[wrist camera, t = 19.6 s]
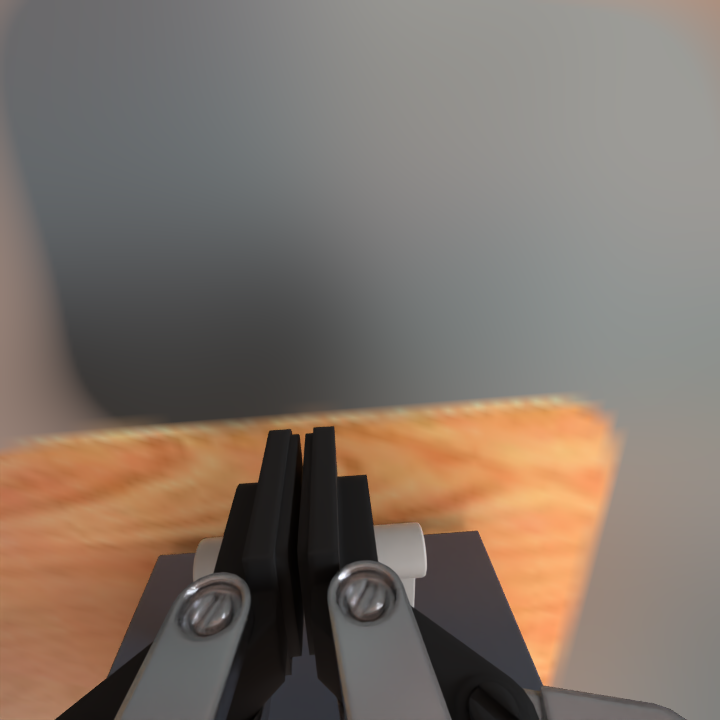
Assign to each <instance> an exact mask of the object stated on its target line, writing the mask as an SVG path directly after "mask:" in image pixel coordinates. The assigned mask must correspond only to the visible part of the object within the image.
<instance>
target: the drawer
mask: <svg viewBox="0 0 720 720" xmlns="http://www.w3.org/2000/svg"><path fill="white" fill-rule="evenodd" d="M373 526H374V533H375V541H376V548H377V555H378V562H380V563H382V564H384V565H386V566H388V567H390V568H391V569H392V570H393V571H394V572H395V573H396V574H398V576H399V578H400V580H401V581H402V583H403V585H404V588H405V591H406V594H407V596H408V599H409V602H410V605H411V606H412V607H414V608H415V609H417V610H418V611H419V612H421V613H422V614H424V615H425V616H426V617H428V618H429V619H430V620H432V621H433V622H435V623H436V624H437V625H439V626H440V627H442V628H443V629H444V630H446V631H447V632H448V633H450V634H451V635H453V636H454V637H455V638H457V639H458V640H460V641H461V642H462V643H464V644H465V645H466V646H468V647H469V648H471V649H472V650H473V651H475V652H476V653H478V654H479V655H480V656H482V657H483V658H484V659H486V660H487V661H489V662H490V663H491V664H493V665H494V666H496V667H497V668H498V669H500V670H501V671H502V672H504V673H505V674H507V675H508V676H509V677H511V678H512V679H513V680H514V681H515V682H516V683H517V684H518V685H520V686H521V687H522V688H524V689H530V690H536V691H540V687H541V685H542V686H543V684H542V682H541V680H540V677H539V675H538V673H537V670H536V668H535V665H534V663H533V661H532V658H531V656H530V654H529V651H528V649H527V646H526V644H525V642H524V639H523V637H522V635H521V632H520V630H519V627H518V625H517V623H516V620H515V618H514V616H513V613H512V611H511V608H510V606H509V604H508V601H507V599H506V597H505V594H504V592H503V589H502V587H501V585H500V582H499V580H498V578H497V575H496V573H495V570H494V568H493V566H492V563H491V561H490V559H489V556H488V554H487V551H486V549H485V547H484V544H483V542H482V540H481V537H480V535H479V532H478V531H467V532H454V533H441V534H428V535H423V532H422V528H421V526H420V524H419V523H417V522H410V523H397V524H384V525H373ZM222 539H223V537H212V538H204V539H202V540H201V541H200V542H199V544H198V547H197V550H196V553H183V554H170V555H160V556H159V557H158V559H157V562H156V564H155V566H154V569H153V571H152V573H151V576H150V578H149V580H148V583H147V585H146V587H145V590H144V592H143V594H142V597H141V599H140V601H139V604H138V606H137V608H136V611H135V613H134V615H133V618H132V620H131V622H130V625H129V627H128V629H127V632H126V634H125V636H124V639H123V641H122V643H121V646H120V648H119V650H118V653H117V655H116V657H115V660H114V662H113V664H112V667H111V669H110V672H109V674H108V676H107V678H108V677H109V676H110V675H111V674H113V673H114V672H115V671H117V670H118V669H119V668H120V667H122V666H123V665H124V664H125V663H127V662H128V661H129V660H130V659H132V658H133V657H134V656H135V655H137V654H138V653H139V652H140V651H142V650H143V649H144V648H145V647H147V646H148V645H149V644H150V643H152V642H153V641H154V640H155V638H156V636H157V634H158V632H159V630H160V628H161V626H162V624H163V622H164V620H165V618H166V616H167V614H168V612H169V610H170V608H171V606H172V604H173V603H174V601H175V600H176V598H177V597H178V595H179V594H180V593H181V592H182V591H183V590H184V589H185V588H186V587H187V586H188V585H189V584H191V583H192V582H194V581H196V580H197V579H199V578H201V577H203V576H206V575H209V574H212V573H213V572H214V568H215V565H216V561H217V558H218V554H219V550H220V547H221V543H222ZM268 720H339V714H338V708H337V700H336V696H335V695H334V694H333V693H332V692H331V691H330V690H329V689H328V688H327V687H326V686H325V685H324V684H323V683H322V682H321V681H320V680H319V679H318V678H317V669H316V661H315V655H309V648H308V640H307V632H306V624H305V616H304V625H303V646H302V656H298V657H293V661H292V675H286V676H285V682H284V683H283V684H282V685H281V686H280V687H279V688H278V690H277V691H276V692H275V693H274V694H273V695H272V696H271V705H270V712H269V717H268Z"/></svg>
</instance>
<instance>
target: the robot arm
mask: <svg viewBox="0 0 720 720" xmlns="http://www.w3.org/2000/svg"><path fill="white" fill-rule="evenodd" d="M304 616H305V624H306V632H307V640H308V648H309V655H315V661H316V669H317V678H318V679H319V680H320V681H321V682H322V683H323V684H324V685H325V686H326V687H327V688H328V689H329V690H330V691H331V692H332V693H333V694H334V695H335V696H336V700H337V708H338V714H339V720H686V719H685V718H683V717H682V716H680V715H678V714H677V713H675V712H674V711H673V710H671V709H669V708H666V707H663V706H660V705H657V704H654V703H648V702H642V701H635V700H629V699H623V698H616V697H611V696H604V695H597V694H592V693H586V692H579V691H573V690H567V689H561V688H555V687H549V686H542V685H541V687H540V691H536V690H530V689H524V688H522V687H521V686H520V685H518V684H517V683H516V682H515V681H514V680H513V679H512V678H511V677H509V676H508V675H507V674H505V673H504V672H502V671H501V670H500V669H498V668H497V667H496V666H494V665H493V664H491V663H490V662H489V661H487V660H486V659H484V658H483V657H482V656H480V655H479V654H478V653H476V652H475V651H473V650H472V649H471V648H469V647H468V646H466V645H465V644H464V643H462V642H461V641H460V640H458V639H457V638H455V637H454V636H453V635H451V634H450V633H448V632H447V631H446V630H444V629H443V628H442V627H440V626H439V625H437V624H436V623H435V622H433V621H432V620H430V619H429V618H428V617H426V616H425V615H424V614H422V613H421V612H419V611H418V610H417V609H415V608H414V607H412V606H411V605H410V602H409V599H408V596H407V594H406V591H405V588H404V585H403V583H402V581H401V580H400V578H399V576H398V574H396V573H395V572H394V571H393V570H392V569H391V568H390V567H388V566H386V565H384V564H382V563H380V562H378V555H377V548H376V541H375V533H374V526H373V518H372V511H371V504H370V496H369V489H368V481H367V476H366V475H356V476H342V477H337V462H336V446H335V431H334V426H331V427H316V428H314V429H313V433H309V434H306V435H305V448H304V462H302V453H301V443H300V435H299V434H294V435H292V431H291V429H286V430H271V431H269V434H268V438H267V443H266V448H265V453H264V457H263V462H262V467H261V471H260V476H259V481H258V483H246V484H239V485H238V487H237V489H236V492H235V496H234V500H233V503H232V507H231V510H230V514H229V518H228V521H227V525H226V529H225V532H224V536H223V539H222V543H221V547H220V550H219V554H218V558H217V561H216V565H215V568H214V572H213V573H212V574H209V575H206V576H203V577H201V578H199V579H197V580H196V581H194V582H192V583H191V584H189V585H188V586H187V587H186V588H185V589H184V590H183V591H182V592H181V593H180V594H179V595H178V597H177V598H176V600H175V601H174V603H173V604H172V606H171V608H170V610H169V612H168V614H167V616H166V618H165V620H164V622H163V624H162V626H161V628H160V630H159V632H158V634H157V636H156V638H155V640H154V641H153V642H152V643H150V644H149V645H148V646H147V647H145V648H144V649H143V650H142V651H140V652H139V653H138V654H137V655H135V656H134V657H133V658H132V659H130V660H129V661H128V662H127V663H125V664H124V665H123V666H122V667H120V668H119V669H118V670H117V671H115V672H114V673H113V674H111V675H110V676H109V677H108V678H106V679H105V680H104V681H103V682H101V683H100V684H99V685H98V686H96V687H95V688H94V689H93V690H91V691H90V692H89V693H88V694H86V695H85V696H84V697H83V698H81V699H80V700H79V701H78V702H76V703H75V704H74V705H73V706H71V707H70V708H69V709H67V710H66V711H65V712H64V713H62V714H61V715H60V716H59V717H57V718H56V719H55V720H268V717H269V712H270V705H271V696H272V695H273V694H274V693H275V692H276V691H277V690H278V688H279V687H280V686H281V685H282V684H283V683H284V682H285V676H286V675H292V661H293V657H298V656H302V646H303V625H304Z"/></svg>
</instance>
